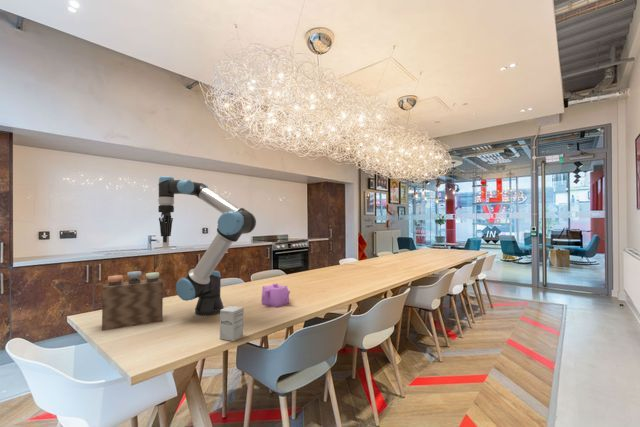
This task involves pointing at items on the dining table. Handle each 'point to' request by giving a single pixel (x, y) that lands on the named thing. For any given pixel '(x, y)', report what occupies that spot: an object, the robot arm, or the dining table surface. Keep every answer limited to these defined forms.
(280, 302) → the teakettle
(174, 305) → the dining table surface
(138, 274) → the slate button
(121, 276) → the terracotta button
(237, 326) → the supplement box
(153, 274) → the sage button
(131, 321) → the button console
